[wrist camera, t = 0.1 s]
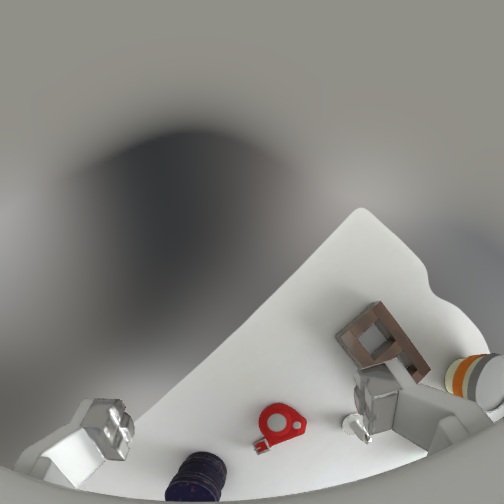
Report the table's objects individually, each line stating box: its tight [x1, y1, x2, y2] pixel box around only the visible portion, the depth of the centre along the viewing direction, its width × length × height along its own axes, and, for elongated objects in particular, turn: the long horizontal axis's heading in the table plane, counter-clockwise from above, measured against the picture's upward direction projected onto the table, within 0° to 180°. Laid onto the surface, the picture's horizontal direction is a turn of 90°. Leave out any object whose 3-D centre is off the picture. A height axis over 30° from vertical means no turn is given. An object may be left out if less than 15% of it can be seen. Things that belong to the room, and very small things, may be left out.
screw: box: [342, 414, 372, 444], centre depth 51 cm, size 13×5×5 cm
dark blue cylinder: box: [165, 452, 227, 502], centre depth 48 cm, size 10×10×15 cm
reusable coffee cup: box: [445, 353, 504, 413], centre depth 50 cm, size 13×12×15 cm
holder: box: [335, 301, 431, 384], centre depth 58 cm, size 11×20×5 cm, turn 38°
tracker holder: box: [253, 404, 307, 455], centre depth 56 cm, size 12×4×10 cm
